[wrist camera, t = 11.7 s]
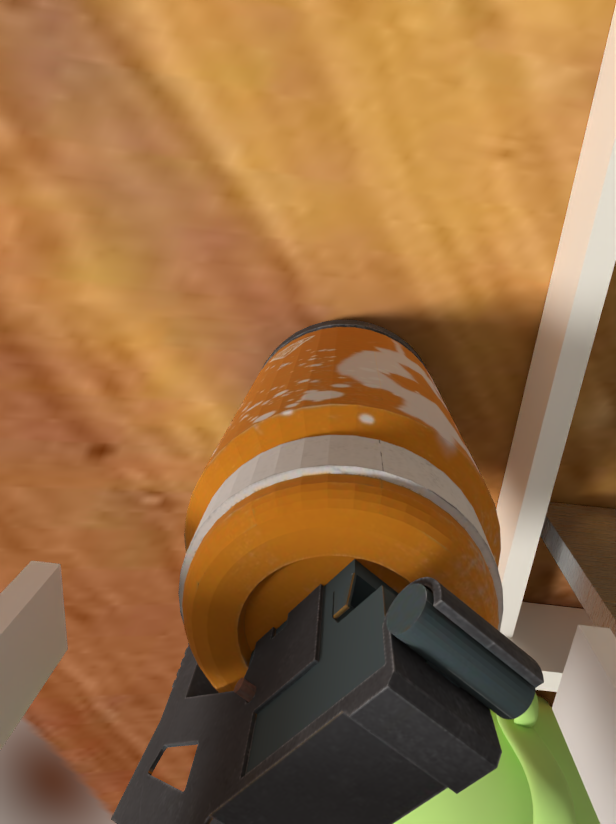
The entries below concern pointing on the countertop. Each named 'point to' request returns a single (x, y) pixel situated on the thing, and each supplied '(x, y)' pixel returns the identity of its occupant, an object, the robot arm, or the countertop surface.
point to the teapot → (518, 780)
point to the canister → (336, 602)
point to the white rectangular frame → (559, 383)
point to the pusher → (586, 556)
